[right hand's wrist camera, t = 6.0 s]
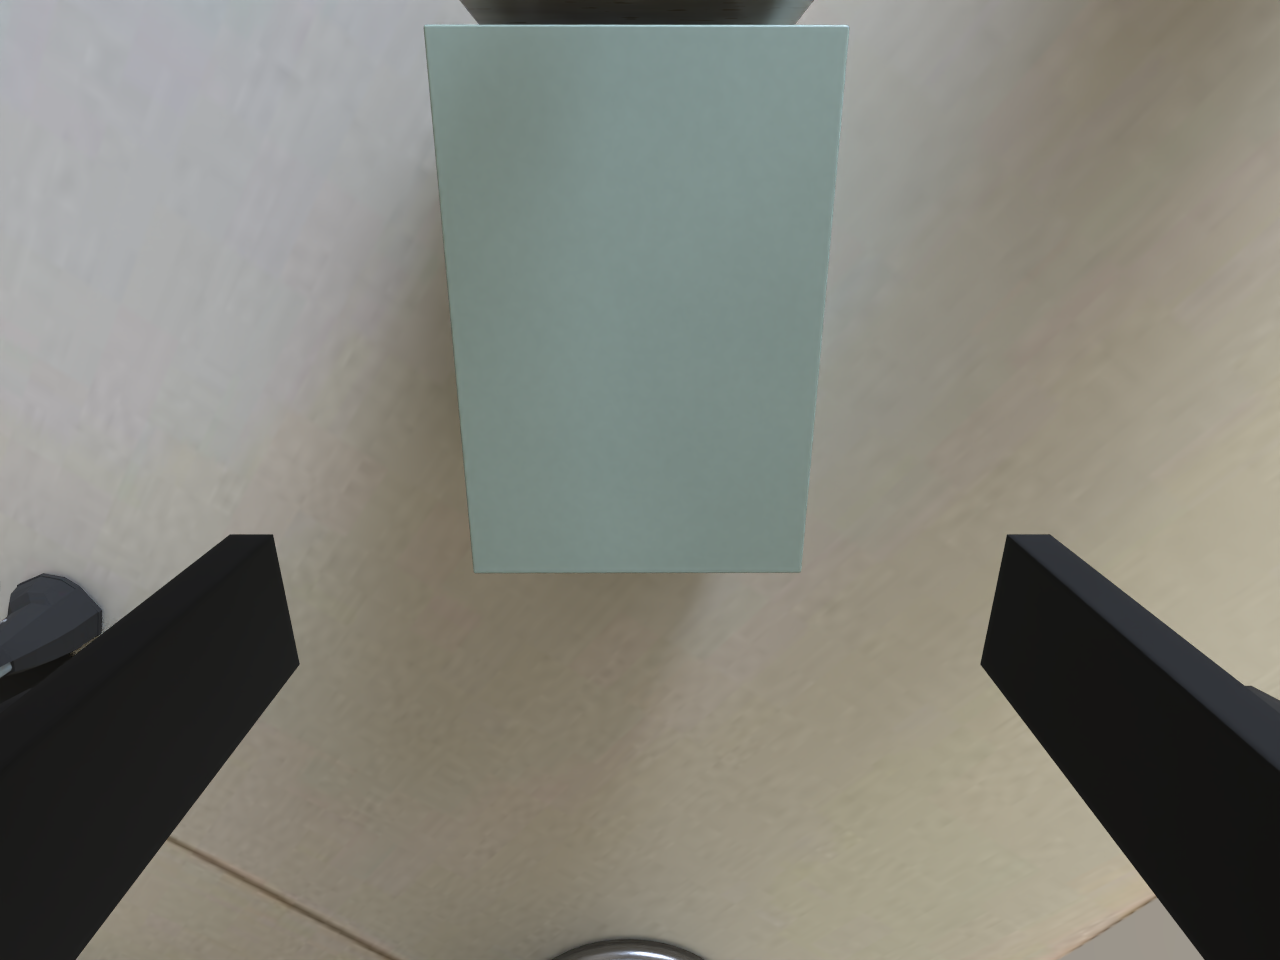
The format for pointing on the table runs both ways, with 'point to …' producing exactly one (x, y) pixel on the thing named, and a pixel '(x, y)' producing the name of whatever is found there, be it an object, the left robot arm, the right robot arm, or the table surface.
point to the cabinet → (636, 286)
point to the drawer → (636, 12)
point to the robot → (43, 630)
